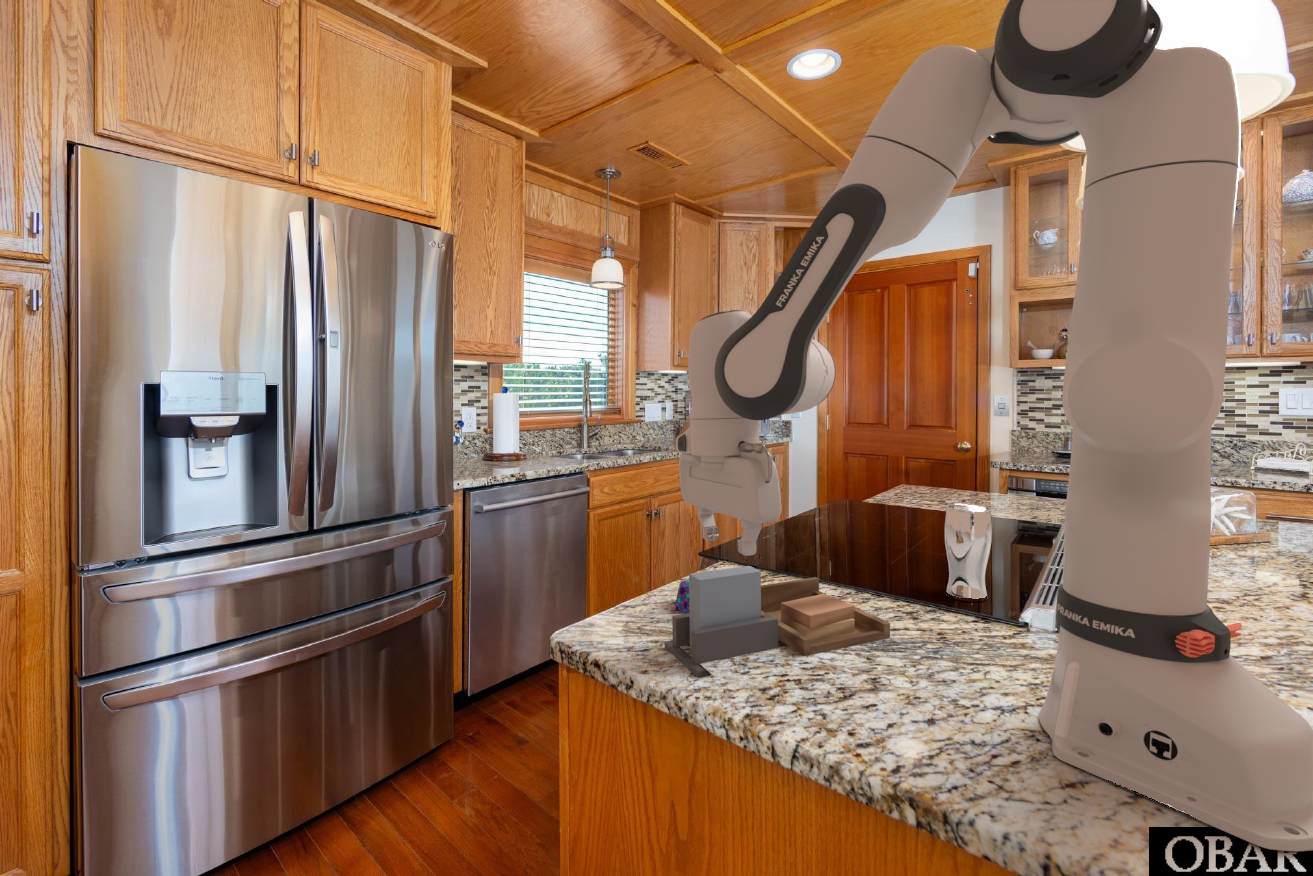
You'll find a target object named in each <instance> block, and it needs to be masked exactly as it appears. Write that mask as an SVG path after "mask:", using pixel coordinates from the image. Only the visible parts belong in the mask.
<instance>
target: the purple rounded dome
mask: <svg viewBox="0 0 1313 876" xmlns="http://www.w3.org/2000/svg"><path fill="white" fill-rule="evenodd" d="M674 610H675V611H676V612H678V613H682V614H687V613H690V611H689V578H686V579H685V580H682V581H680V583H679V586H678V589H677V594H676V599H675V602H674Z"/></svg>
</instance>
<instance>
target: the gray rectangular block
mask: <svg viewBox="0 0 1313 876" xmlns="http://www.w3.org/2000/svg"><path fill="white" fill-rule="evenodd" d="M688 579H689V611H690V645H689V648H690V649H691V650H692V646H691V631H692V630H698V629H703V628H709V627H715V626H720V625H726V624H731V623H737V622H743V621H748V620H754V619H759V618H761V586H762V571H761V570H759V569H757V568H754V567H752V566H750V565H746V566H745V565H744V566H738V567H736V566H735V567H730V568H729V567H728V568H724V569H717V570H709V571H702V572H694V573H689V574H688Z"/></svg>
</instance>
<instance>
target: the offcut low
mask: <svg viewBox="0 0 1313 876" xmlns="http://www.w3.org/2000/svg"><path fill="white" fill-rule="evenodd" d="M781 622H782V623H784V624H786V625H787V626H789V627H791V628H793V629H794V630H796V631H798V632H800V633H801V634H803V635H805V636H806V637H808V638H810V639H811V641H813V640H818V639H823V638H828V637H833V636H838V635H843V634H848V633H853V632H855V619H850V620H845V621H841V622H837V623H833V624H829V625H825V626H821V627H817V628H813V629H809V628H807V627H805V626H802V625H800V624H798V623H796V622H794V621H792V620H790V619H788V618H786V617H783V616H781Z"/></svg>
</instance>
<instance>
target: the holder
mask: <svg viewBox="0 0 1313 876" xmlns="http://www.w3.org/2000/svg"><path fill="white" fill-rule="evenodd" d="M671 621H672V624H671V625H672V632H671V633H672V640H668V641H667V640H666V641H664V649H666V651H668V652H669V653H670V654H671V655H672V656H673V657H674V658H676V660H678V661H679V662H680V663H681V664H682V665H683V666H684V667H686V669H687V670H689V671H690V672H691V673H692V674H693V675H694V676H695V677H697V679H699V678H704V677H709V676H713V674H712V673H711V672H710V671H709V670H708V669H706V668H705V667H704V666H703V665H702V664H706V663H710V662H715V661H719V660H720V661H721V660H725V659H729V658H730V659H731V658H735V657H739V656H745V655H749V654H753V653H758V652H759V653H760V652H765V651H769V650H775V649H778V648H779V640H778V619H777V618H776V617H774V616H771V617H765V618H759V619H754V620H748V621H743V622H737V623H731V624H726V625H720V626H715V627H709V628H703V629H698V630H692V631H691V646H692V649H691V655H690V654H689V653H688V652H686V651H685V650H684V649H683V648H682V647H686V646H690V613H687V614H684V613H682V614H676V615H672V620H671Z"/></svg>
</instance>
